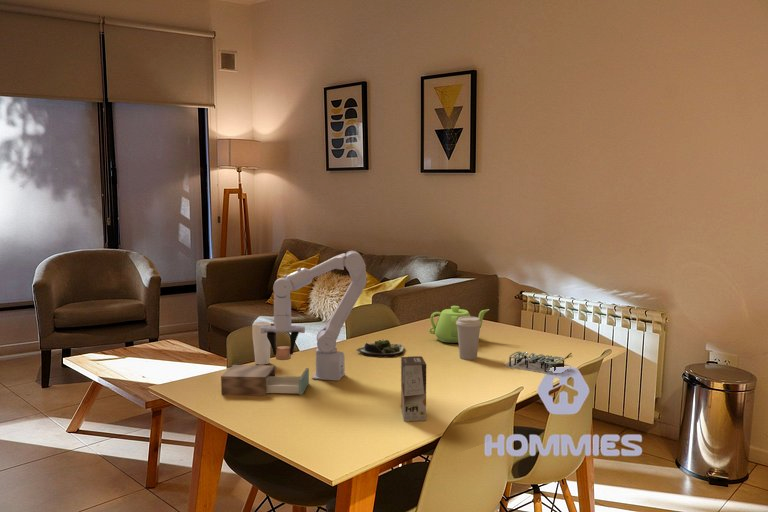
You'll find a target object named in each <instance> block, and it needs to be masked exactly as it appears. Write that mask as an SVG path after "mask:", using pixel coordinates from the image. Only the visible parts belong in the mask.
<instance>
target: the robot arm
mask: <svg viewBox="0 0 768 512" xmlns="http://www.w3.org/2000/svg"><path fill="white" fill-rule="evenodd" d="M344 267H345V268H344ZM335 269H336V270H342V271H344V269H346V270H347V271H348V274H349V276H350V280H351V281H350V284H349V285H348V287H347V289H346V291H345V293H344V295H343V296H342V297H341V299H340V301H339V302H338V305H337V307H336V308H335V310H334V312H333V314H332V315H331V317H330V319H329V321H327V323H326V324H325V326H324V327H323V328H322V329H321V330H319V331H318V332H317V335H316V346H317V348H315V373H314V375H313V376H312V377H311V379H312V380H323V381H326V380H327V381H335V382H336V381H340V380H341V379H342V378H343V377H344V376H345V375H346V372H345V370H346V369H345V354H344V352H343V351H342V352H341V351H338V348H337V347H336V346H337V340H338V337H339V335H340V334H341V333H340V332H341V330H342V328H343V326H344V324H345V323H346V321H347V319H348V317H349V315H350V314H351V312H352V311H353V309H354V307H355V305H356V303H357V301H358V299H359V298H360V296H361V295H362V293H363V291H364V289H365V288H366V286H367V265H366V263H365V260H364V258H363V257H362V255H361V254H360V253H359V252H358V251H357V250H349V251H347V252H346V253H340V254H337V255H335V256H333V257H331V258H329V259H327V260H325V261H323V262H321V263H319V264H317V265H315V266H313V267H311V268H306V267H302V268H301V267H298V268H296V271H294V272H291V273H289V274H287V273H286V274H284V275H283V277H280V278H277V279H276V280H275V281H274V283H273V287H272V290H273V293H274V294H273V299H274V300H273V325H271V326H267V327H261V334H263V333H267V338H268V340H269V342H270V344H271V346H270V347H271V348H272V352H273V356H276V347H277V334H286V333H287V334H290V335H289V339H290V347H291V349H290V355H291V356H293V354H294V348H295V344H296V341H297V339H298V336H299V334H305V333H306V326H303V325H292V300H291V292H292V291H293V292H295V291H298V290H299V289H301V288H304V287H306V286H308V285H310V284H312V282H313V279H314V278H316V277H319V276H321V275H323V274H325V273H328V272H331V271H333V270H335Z"/></svg>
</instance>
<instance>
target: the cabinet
mask: <svg viewBox="0 0 768 512" xmlns="http://www.w3.org/2000/svg"><path fill="white" fill-rule="evenodd" d="M268 376H276V365H269V364H267V365H257V364H233V365H231V367H229V368H228V369H227V370H226V371H225V372H224V373H222V375H221V376H220V387H221V390H220V391H221V395H233V396H234V395H236V396H237V395H238V396H267V395H268V393H267V390H266V378H267V377H268Z"/></svg>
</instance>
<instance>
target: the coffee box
mask: <svg viewBox="0 0 768 512" xmlns="http://www.w3.org/2000/svg"><path fill="white" fill-rule="evenodd" d="M400 363H401V364H400V369H401V370H400V375H401V376H400V381H401V382H400V383H401V385H400V386H401V390H400V397H401V398H400V407H401V408H400V409H401V410H400V411H401V415H402V419H403V421H404V422H421V421H422V422H425V421H426V420H427V363H426V362H425V360H424V358H423V356H420V355H417V356H413V355H412V356H401V357H400Z"/></svg>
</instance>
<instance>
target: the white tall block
mask: <svg viewBox="0 0 768 512" xmlns="http://www.w3.org/2000/svg"><path fill="white" fill-rule="evenodd" d="M251 325H252V328H251V330H252V331H251V332H252V335H251V336H252V343H253V353H254V365H257V364H259V365H264V364H267V365H269V364H270V362H271V347H272V346H271V344H270V342H269V340H268V338H267V333H263V334H261V327H267V326H272V322H270V321H255V322H253V323H252V324H251Z"/></svg>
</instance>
